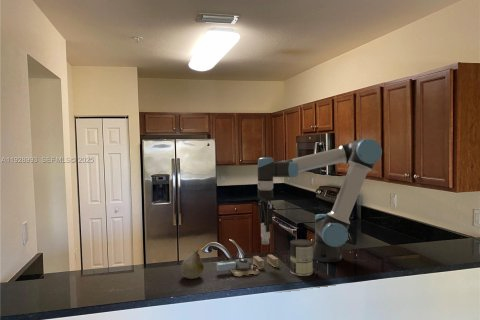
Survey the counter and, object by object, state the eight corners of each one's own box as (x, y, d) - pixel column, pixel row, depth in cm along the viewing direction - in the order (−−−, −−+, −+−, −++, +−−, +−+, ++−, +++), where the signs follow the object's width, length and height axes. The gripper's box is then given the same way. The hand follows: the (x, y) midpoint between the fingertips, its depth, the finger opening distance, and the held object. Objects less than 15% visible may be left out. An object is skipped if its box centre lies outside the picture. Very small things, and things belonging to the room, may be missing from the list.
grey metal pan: (248, 264, 169) (248, 256, 169) (254, 269, 161) (254, 261, 161) (214, 267, 163) (214, 259, 163) (219, 273, 156) (219, 264, 156)
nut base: (250, 266, 171) (250, 260, 171) (258, 273, 160) (258, 267, 160) (228, 269, 167) (228, 262, 167) (235, 276, 157) (235, 270, 157)
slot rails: (271, 262, 177) (271, 254, 177) (278, 267, 170) (278, 258, 169) (253, 264, 174) (253, 256, 174) (259, 269, 166) (259, 261, 166)
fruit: (207, 276, 157) (207, 249, 157) (194, 283, 149) (194, 255, 149) (189, 272, 162) (189, 246, 162) (176, 278, 154) (176, 251, 154)
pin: (260, 243, 173) (260, 222, 172) (267, 242, 174) (267, 222, 174) (263, 244, 169) (263, 224, 169) (270, 244, 170) (270, 223, 170)
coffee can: (286, 272, 162) (285, 242, 161) (297, 267, 170) (297, 238, 169) (306, 277, 155) (306, 246, 155) (316, 271, 163) (316, 241, 163)
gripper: (252, 188, 178) (252, 234, 178) (264, 191, 162) (264, 242, 162) (265, 187, 180) (265, 233, 180) (279, 190, 164) (279, 240, 165)
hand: (265, 237), depth 171 cm, fingers closed on pin, 3 cm apart
